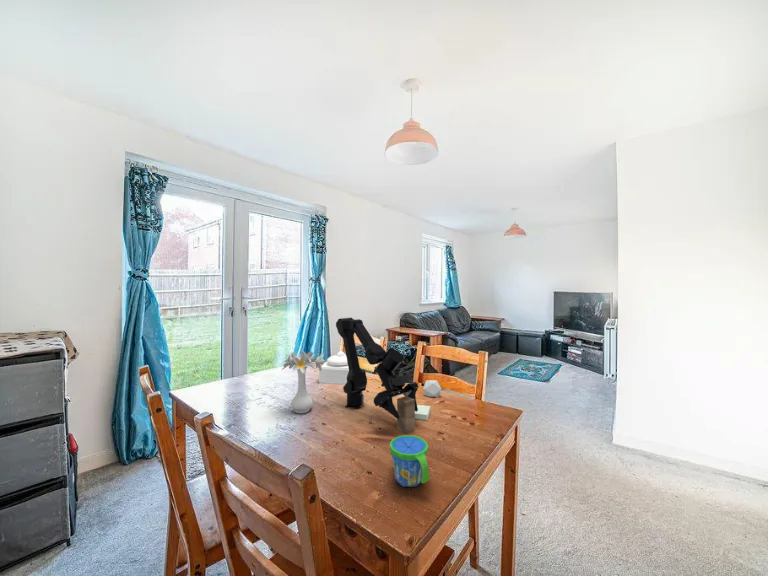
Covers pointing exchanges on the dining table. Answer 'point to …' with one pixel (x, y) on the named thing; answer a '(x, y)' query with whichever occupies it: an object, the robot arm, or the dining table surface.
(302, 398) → the flower vase
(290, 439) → the dining table surface
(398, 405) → the pillar
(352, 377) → the robot arm
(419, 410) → the top slab
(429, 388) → the die
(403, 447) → the snack cup
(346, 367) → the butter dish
